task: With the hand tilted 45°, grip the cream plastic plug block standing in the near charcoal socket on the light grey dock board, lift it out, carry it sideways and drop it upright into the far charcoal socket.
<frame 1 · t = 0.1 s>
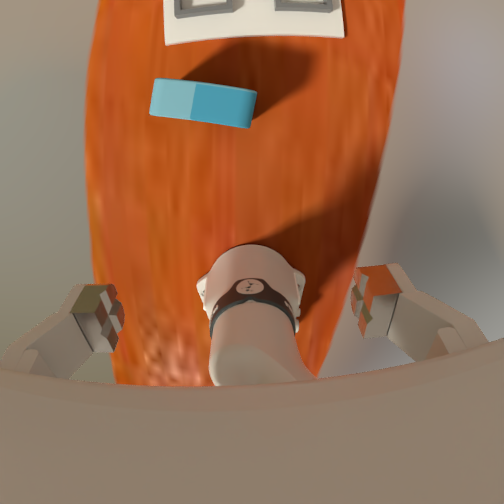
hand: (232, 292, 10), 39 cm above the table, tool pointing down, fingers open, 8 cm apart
data package: (211, 103, 43), on the table
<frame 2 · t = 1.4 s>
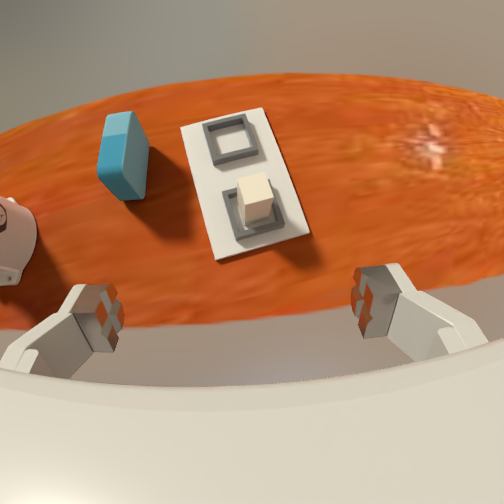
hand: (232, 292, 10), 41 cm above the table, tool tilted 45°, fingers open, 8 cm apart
dock: (240, 177, 55), on the table
data package: (136, 172, 55), on the table
plug block: (252, 211, 53), point 1 cm above the table, touching dock
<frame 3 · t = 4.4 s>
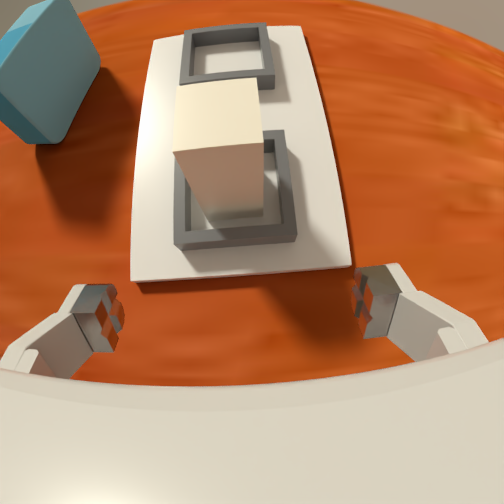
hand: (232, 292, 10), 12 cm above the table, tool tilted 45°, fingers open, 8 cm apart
dock: (231, 124, 26), on the table
data package: (68, 104, 28), on the table
plug block: (233, 193, 23), point 1 cm above the table, touching dock
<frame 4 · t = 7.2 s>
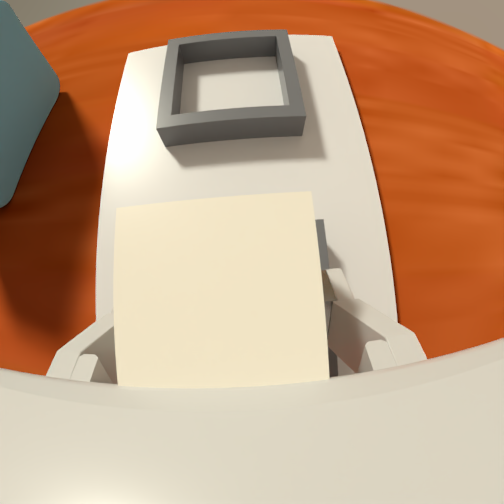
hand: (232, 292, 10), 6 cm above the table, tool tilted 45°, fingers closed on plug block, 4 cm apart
dock: (236, 192, 18), on the table
data package: (20, 145, 20), on the table
plug block: (242, 316, 15), point 1 cm above the table, touching dock, gripper
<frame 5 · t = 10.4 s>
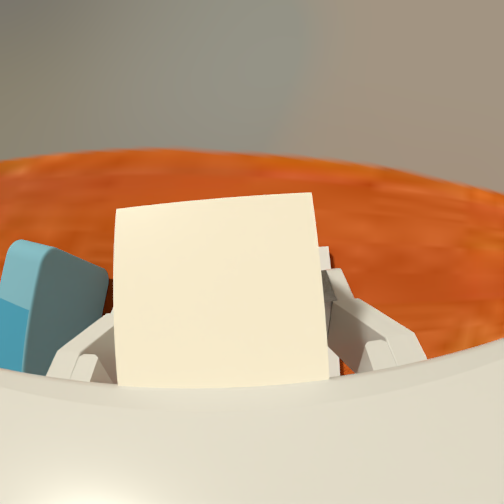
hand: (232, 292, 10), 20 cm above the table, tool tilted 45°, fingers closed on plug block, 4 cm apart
dock: (255, 387, 29), on the table
data package: (84, 321, 31), on the table
plug block: (242, 317, 15), point 15 cm above the table, touching gripper
when the fingers open (8 cm above the table, at t = 13.6 s): plug block drops 1 cm, resting on dock.
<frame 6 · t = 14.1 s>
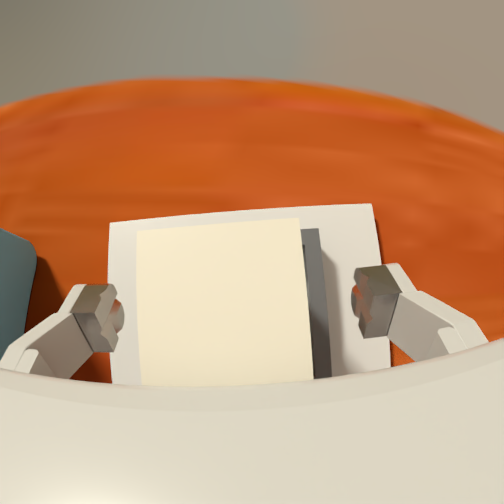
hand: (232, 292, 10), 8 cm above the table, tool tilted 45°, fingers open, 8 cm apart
dock: (253, 433, 16), on the table
data package: (9, 318, 18), on the table
plug block: (242, 318, 17), point 1 cm above the table, touching dock
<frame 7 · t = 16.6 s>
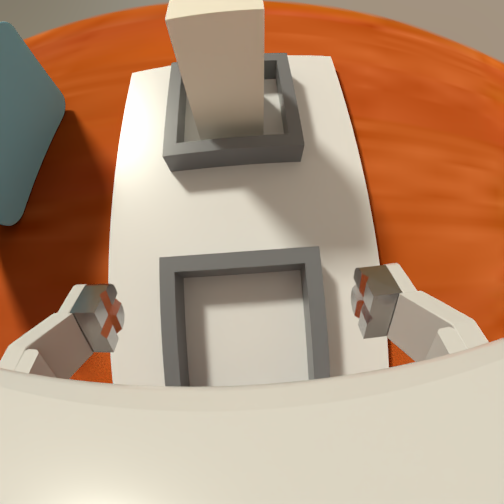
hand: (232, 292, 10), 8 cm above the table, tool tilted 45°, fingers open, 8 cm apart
dock: (238, 215, 19), on the table
data package: (27, 162, 21), on the table
plug block: (230, 115, 20), point 1 cm above the table, touching dock
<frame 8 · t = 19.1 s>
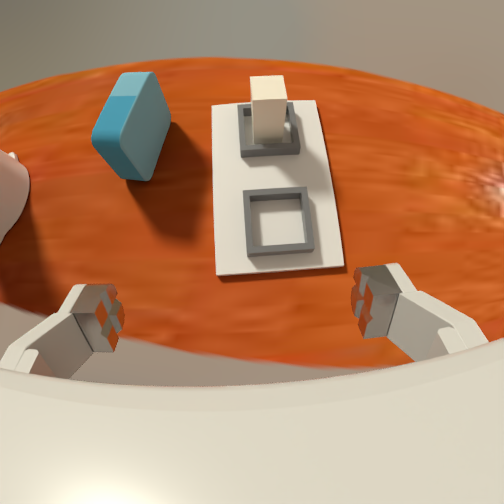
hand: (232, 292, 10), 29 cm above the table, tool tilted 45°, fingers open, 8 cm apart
dock: (271, 177, 43), on the table
data package: (148, 149, 45), on the table
plug block: (266, 132, 44), point 1 cm above the table, touching dock
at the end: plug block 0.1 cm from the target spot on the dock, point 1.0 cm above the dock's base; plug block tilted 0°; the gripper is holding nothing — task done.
